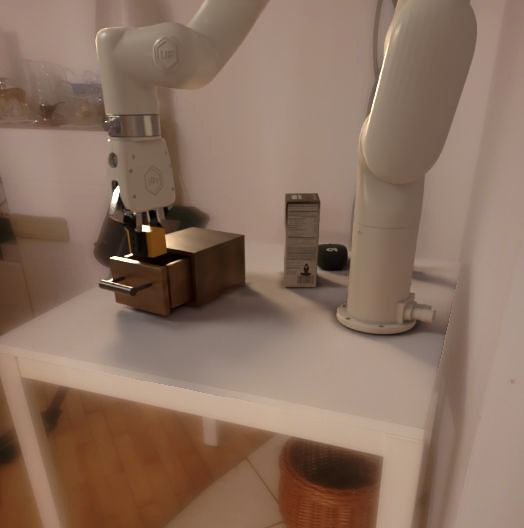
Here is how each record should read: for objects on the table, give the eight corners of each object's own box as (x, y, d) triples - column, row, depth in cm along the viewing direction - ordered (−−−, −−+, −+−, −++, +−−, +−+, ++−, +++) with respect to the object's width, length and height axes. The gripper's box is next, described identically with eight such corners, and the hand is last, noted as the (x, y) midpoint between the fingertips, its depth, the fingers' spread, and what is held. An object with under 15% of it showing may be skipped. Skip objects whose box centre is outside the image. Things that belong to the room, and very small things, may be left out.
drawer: (144, 326, 75) (138, 277, 71) (93, 311, 80) (86, 265, 77) (216, 291, 89) (214, 249, 85) (169, 281, 94) (165, 240, 91)
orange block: (167, 253, 79) (164, 228, 78) (153, 257, 77) (150, 232, 75) (144, 248, 82) (141, 224, 80) (129, 253, 80) (126, 228, 78)
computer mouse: (314, 271, 102) (315, 252, 101) (311, 255, 113) (311, 238, 111) (350, 271, 102) (352, 252, 100) (343, 255, 113) (344, 238, 111)
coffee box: (283, 273, 101) (284, 192, 94) (314, 273, 101) (317, 192, 94) (283, 287, 93) (285, 200, 86) (317, 287, 93) (322, 200, 86)
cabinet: (197, 307, 84) (194, 252, 80) (144, 294, 90) (138, 242, 86) (245, 284, 95) (244, 234, 91) (195, 273, 101) (192, 226, 97)
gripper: (108, 132, 63) (127, 269, 72) (190, 127, 76) (198, 244, 84) (70, 131, 67) (92, 261, 75) (154, 126, 79) (166, 239, 88)
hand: (148, 251), depth 79 cm, fingers closed on orange block, 3 cm apart
